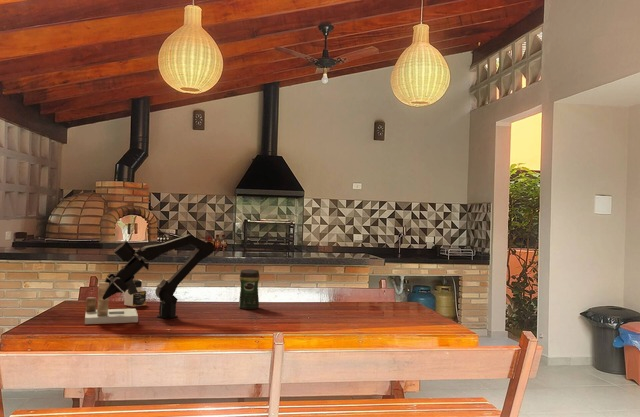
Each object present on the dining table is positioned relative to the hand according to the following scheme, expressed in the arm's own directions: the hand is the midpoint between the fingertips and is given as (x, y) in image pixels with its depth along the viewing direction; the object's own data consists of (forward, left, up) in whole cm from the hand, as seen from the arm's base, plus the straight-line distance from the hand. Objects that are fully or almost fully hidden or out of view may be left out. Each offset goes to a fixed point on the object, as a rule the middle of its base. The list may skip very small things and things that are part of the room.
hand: (101, 297), depth 227 cm
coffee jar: (-29, -63, -10) cm, 70 cm away
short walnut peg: (+10, -4, -7) cm, 13 cm away
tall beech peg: (0, -1, -7) cm, 7 cm away
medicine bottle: (+17, -35, -10) cm, 40 cm away
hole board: (0, -6, -10) cm, 12 cm away
